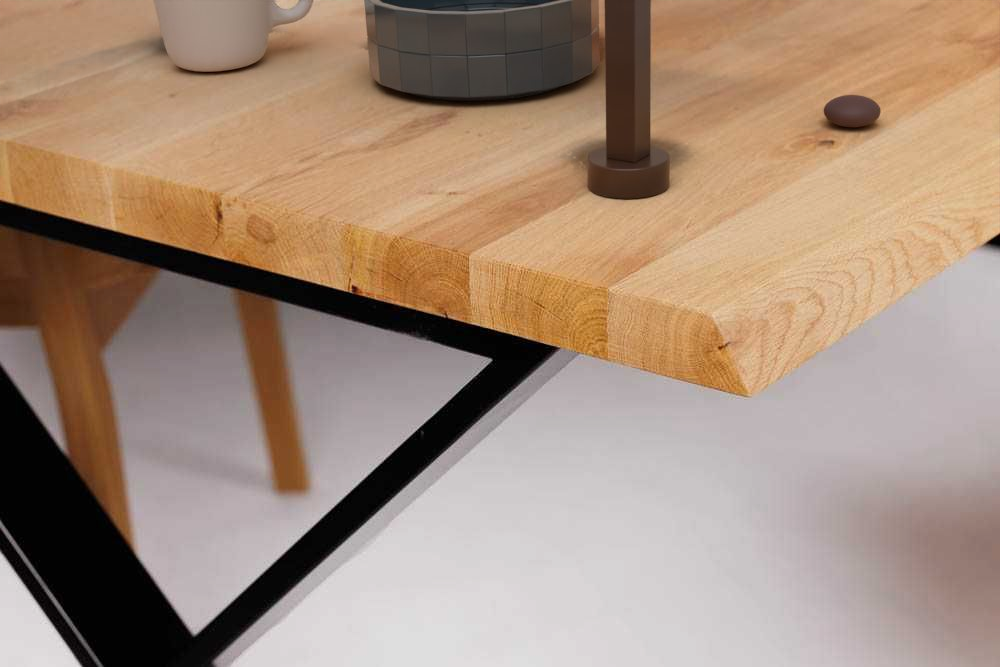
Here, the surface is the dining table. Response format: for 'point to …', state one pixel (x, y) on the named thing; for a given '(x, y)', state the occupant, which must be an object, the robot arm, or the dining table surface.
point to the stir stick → (628, 109)
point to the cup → (221, 30)
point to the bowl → (481, 46)
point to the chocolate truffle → (852, 111)
